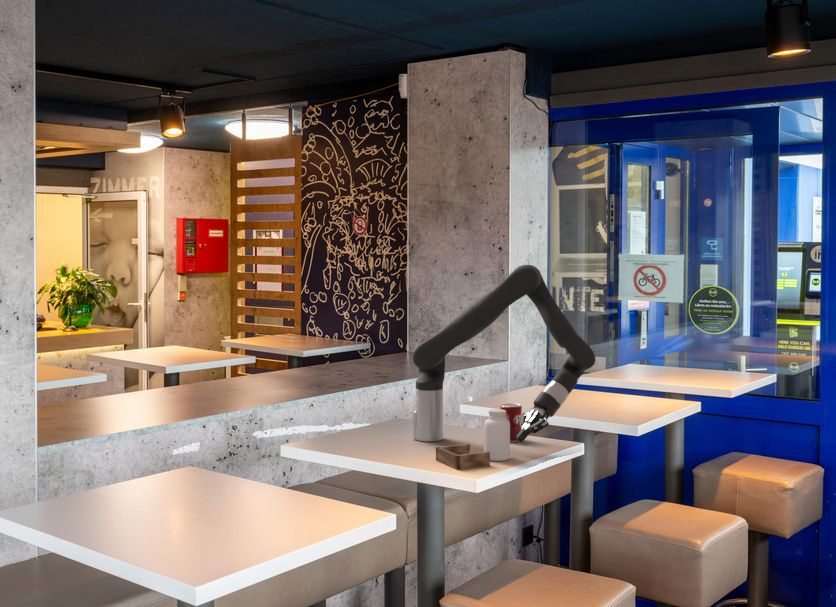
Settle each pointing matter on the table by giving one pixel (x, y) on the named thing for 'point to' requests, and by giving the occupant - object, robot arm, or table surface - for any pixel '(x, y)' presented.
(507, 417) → the soda can
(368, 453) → the table surface
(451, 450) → the holder
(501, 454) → the pill bottle
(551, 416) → the robot arm
